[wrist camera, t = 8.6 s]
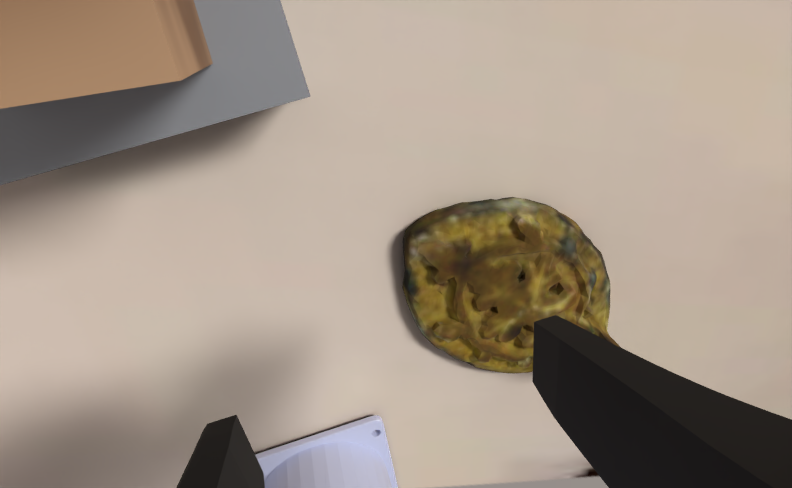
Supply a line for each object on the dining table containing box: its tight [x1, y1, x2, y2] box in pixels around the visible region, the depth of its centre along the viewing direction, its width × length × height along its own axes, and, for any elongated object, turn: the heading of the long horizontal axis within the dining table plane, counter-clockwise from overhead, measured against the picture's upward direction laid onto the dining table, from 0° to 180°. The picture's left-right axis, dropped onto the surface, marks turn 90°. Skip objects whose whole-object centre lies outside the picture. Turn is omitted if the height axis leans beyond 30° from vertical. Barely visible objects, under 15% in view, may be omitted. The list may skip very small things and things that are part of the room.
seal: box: [403, 197, 621, 373], centre depth 21 cm, size 9×5×15 cm
